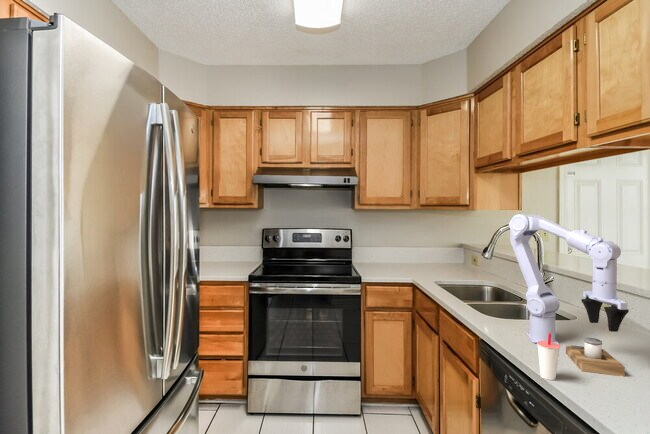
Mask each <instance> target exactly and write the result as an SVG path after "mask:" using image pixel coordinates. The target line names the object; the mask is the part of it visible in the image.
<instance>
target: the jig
mask: <svg viewBox="0 0 650 434" xmlns="http://www.w3.org/2000/svg"><path fill="white" fill-rule="evenodd" d="M565 354H566V355H567V356H568V358H569V359H570V360H571V361H572V362H573V363H574V364H575V365H576V367H577V368H578V369H579V370H580V371H581V372H586V373H594V374H600V375H601V374H603V375H611V376H617V377H619V376H620V377H625V374H626V372H625V371H626V367H625V366H624V365H623V364H622V363H621V362H619V360H617V359H616V358H614V357H613V356H612V355H611V354H610V353H609V352H608V351H606V350H605V349H604V348H602V350H601V360H600V359H591V358H585V357H584V346H581V345H570V344H569V345H567V344H565Z"/></svg>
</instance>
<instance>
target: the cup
mask: <svg viewBox="0 0 650 434" xmlns="http://www.w3.org/2000/svg"><path fill="white" fill-rule="evenodd" d="M536 345H537V351H538V353H537V354H538V365H539V373H540V377H541V378H543V380H547V381H554V380H556V376H557V372H558V371H557V370H558V362H559V356H560V348H561V345H560V344H559V345H558V344H556V343H553V342H551V334H550V333H549V334H548V341H538V342H537V343H536Z"/></svg>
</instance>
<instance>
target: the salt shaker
mask: <svg viewBox="0 0 650 434" xmlns="http://www.w3.org/2000/svg"><path fill="white" fill-rule="evenodd" d="M583 341H584V343H583V344H584V345H583V347H584V357H585V358H591V359H600V360H601V350H602V349H603V348H602V345H603V341H602V340H600V339H599V338H594V337H583Z"/></svg>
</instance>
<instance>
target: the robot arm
mask: <svg viewBox="0 0 650 434" xmlns="http://www.w3.org/2000/svg"><path fill="white" fill-rule="evenodd" d="M508 227H509V229H510V235H509V236H510V237H509V242H510V244H511V248H512V251H513V253H514V255H515V258H516V260H517V261H516V262H517V263H518V266H519V269H520V271H521V274H522V276H523V278H524V282H525V283H526V286H527V290H526V292H525V298H526V308H527V309H528V311H529V312H530V314H529V318H528V320H529V322H528V324H529V325H528V326H529V327H528V331H529V332H528V331H527V332H525V334H526V335H527V337H528V339H529V340H530V341H531V342H532V344H533V343H534V344H537V342H538V341H548V334H549V333H550V334H551V342H553V343H556V344H558V345H560V343H559V342H558V341H557V340H556V312H557V311H558V310H559V309H560V306H561V305H560V301H559V298H558V297H557V296H556V295H555V294H554V292H553V290H552V289H551V288H550V287H549V286H547V285H546V284H545V281H544V278H543V276H542V272H541V271H540V268H539V266H538V263H537V261H536V258H535V256H534V254H533V251H532V248H531V246H530V244H529V243H530V240H531V239H532V237H533V236H534V235H535V234H536V233H538V231H544V232H546V233H549V234H551V235H553V236H557V237H559V238H561V239H563V240H565V241H566V244H567V245H568V246H570V247H571V248H574V249H576V250H577V251H580V252H581V253H584V254H586V255H589V257H590V258H591V260H592V277H591V279H592V283H591V284H592V285H591V286H592V287H591V290H592V291H591V290H582V291H583V295H582V297H583V298H581V303H582V304H583V306H584V308H585V310H586V313H587V317H588V321H589V323H590V324H599V320H600V312H601V309H602V305H603V304H605V305H609V306H603V309H604V311H605V314H606V317H607V328H608V331H609V332H611V333H612V332H616V333H618V332H619V329H620V327H621V324H622V322H623V320H624V318H625V317H626V316H627V315H628V313H629V312H630V309H628V302H626V301H624V300H622V299H620V298H618V297H617V285H618V284H617V281H618V280H617V279H618V273H617V272H618V264H617V263H618V258H620V257H621V254H622V253H621V252H622V251H621V250H622V249H621V248H620V246H619V245H618V244H617V243H615V242H614V241H612V240H605V241H604V238H602V237H600V236H599V237H596V236H595V235H592V234H590V233H588V230H585V229H575V230H570V229H569V228H567V227H565V226H562V225H561V224H558V223H557V222H554V221H552V220H551V219H548V218H546V217H545V216H542V215H538V214H535V213H532V214H531V213H530V214H521V213H518V214H515V215H514V216H512V217H511V219H510V221H509V223H508Z"/></svg>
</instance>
